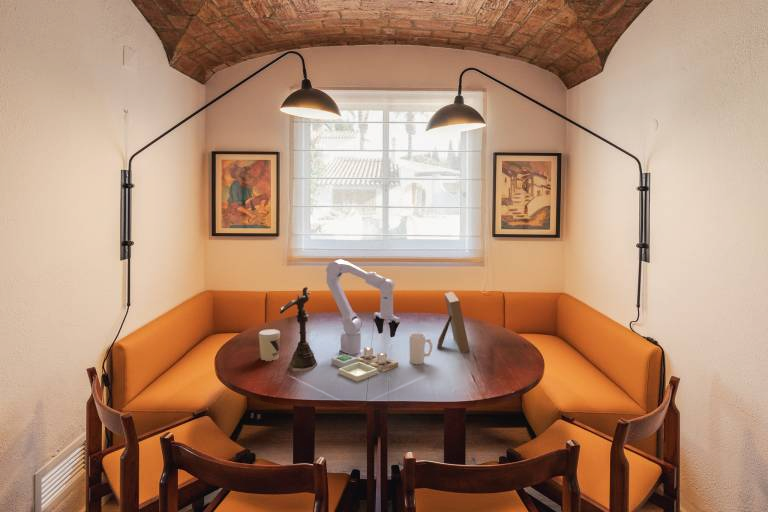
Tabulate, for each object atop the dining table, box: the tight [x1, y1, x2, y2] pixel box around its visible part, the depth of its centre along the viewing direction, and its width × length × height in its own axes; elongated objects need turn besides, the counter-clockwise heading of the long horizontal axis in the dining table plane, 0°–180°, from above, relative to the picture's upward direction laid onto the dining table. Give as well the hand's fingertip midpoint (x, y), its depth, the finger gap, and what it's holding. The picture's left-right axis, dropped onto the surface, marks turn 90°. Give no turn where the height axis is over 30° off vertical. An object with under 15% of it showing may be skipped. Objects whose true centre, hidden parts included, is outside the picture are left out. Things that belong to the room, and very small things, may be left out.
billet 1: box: [363, 346, 374, 360], centre depth 180 cm, size 4×4×6 cm
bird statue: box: [279, 286, 318, 373], centre depth 171 cm, size 17×13×35 cm
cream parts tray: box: [354, 353, 399, 373], centre depth 177 cm, size 18×9×2 cm, turn 46°
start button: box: [339, 355, 350, 361], centre depth 176 cm, size 4×4×3 cm
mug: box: [409, 332, 433, 365], centre depth 180 cm, size 10×7×12 cm, turn 82°
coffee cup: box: [258, 328, 281, 362], centre depth 183 cm, size 9×9×12 cm
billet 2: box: [376, 351, 388, 366], centre depth 173 cm, size 4×4×6 cm
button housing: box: [331, 353, 357, 368], centre depth 176 cm, size 8×8×3 cm
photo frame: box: [436, 291, 470, 353], centre depth 203 cm, size 15×22×25 cm
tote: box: [338, 362, 379, 382], centre depth 166 cm, size 11×11×2 cm
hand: (386, 334), depth 188 cm, fingers open, 7 cm apart
